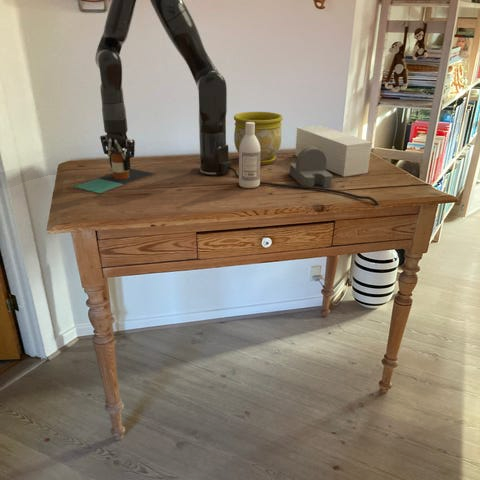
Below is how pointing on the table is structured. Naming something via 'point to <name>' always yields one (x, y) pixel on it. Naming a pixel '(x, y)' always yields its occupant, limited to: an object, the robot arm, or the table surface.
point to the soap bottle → (118, 166)
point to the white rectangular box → (336, 149)
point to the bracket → (311, 168)
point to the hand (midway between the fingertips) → (120, 168)
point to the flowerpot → (261, 132)
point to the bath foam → (249, 158)
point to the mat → (111, 181)
